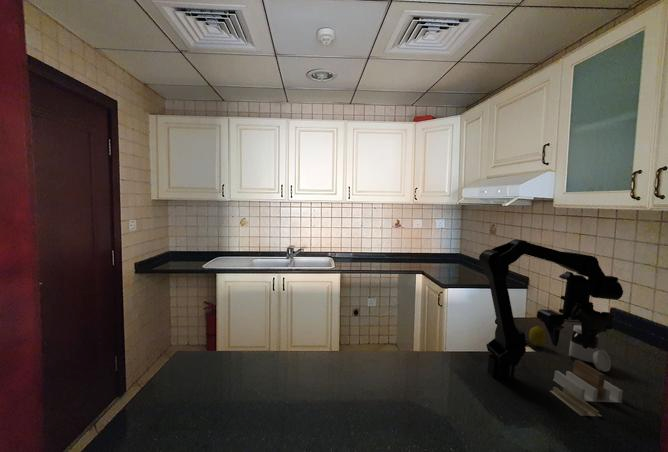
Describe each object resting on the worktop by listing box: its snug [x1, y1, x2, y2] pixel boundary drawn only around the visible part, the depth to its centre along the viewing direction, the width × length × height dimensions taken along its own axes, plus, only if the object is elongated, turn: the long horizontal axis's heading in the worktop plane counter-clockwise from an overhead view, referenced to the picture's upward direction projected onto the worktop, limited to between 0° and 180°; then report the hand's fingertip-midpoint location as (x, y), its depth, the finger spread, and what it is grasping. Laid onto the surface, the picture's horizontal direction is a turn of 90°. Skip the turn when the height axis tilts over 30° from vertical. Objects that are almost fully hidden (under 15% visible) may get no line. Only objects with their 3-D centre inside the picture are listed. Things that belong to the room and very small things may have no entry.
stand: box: [549, 386, 602, 417], centre depth 79 cm, size 6×10×2 cm, turn 3°
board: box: [572, 360, 606, 400], centre depth 85 cm, size 2×8×7 cm, turn 3°
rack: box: [552, 370, 624, 403], centre depth 85 cm, size 12×10×4 cm
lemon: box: [528, 325, 547, 347], centre depth 115 cm, size 6×6×8 cm
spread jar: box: [568, 324, 612, 373], centre depth 104 cm, size 12×11×12 cm
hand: (569, 346), depth 88 cm, fingers open, 9 cm apart
